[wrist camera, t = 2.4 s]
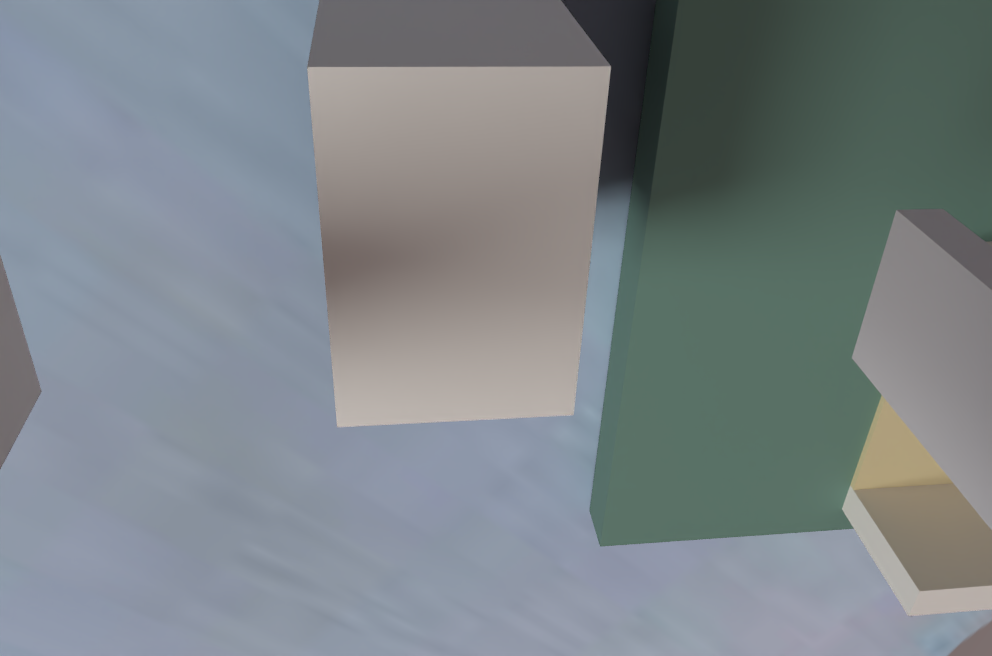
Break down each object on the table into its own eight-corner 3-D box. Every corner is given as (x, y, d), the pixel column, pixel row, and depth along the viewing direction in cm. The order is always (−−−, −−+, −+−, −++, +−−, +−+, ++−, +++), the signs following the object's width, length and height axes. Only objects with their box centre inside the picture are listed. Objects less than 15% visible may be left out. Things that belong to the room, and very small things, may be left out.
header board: (665, -74, 18) (764, -13, 14) (1256, -63, 20) (1517, -7, 16) (589, 510, 28) (633, 660, 23) (997, 484, 29) (1113, 618, 25)
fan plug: (328, -53, 18) (306, 67, 11) (522, -51, 18) (610, 66, 12) (346, 213, 21) (337, 427, 15) (510, 210, 22) (573, 415, 15)
